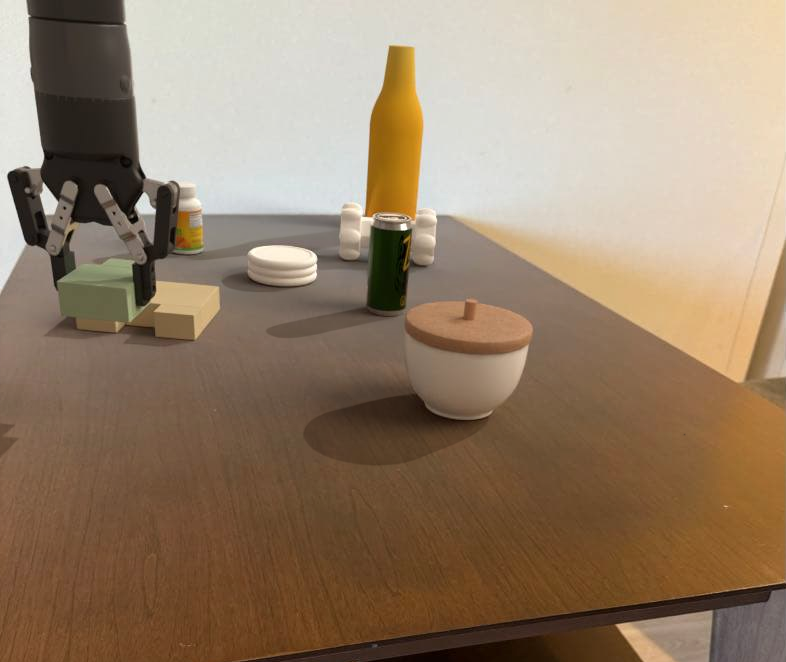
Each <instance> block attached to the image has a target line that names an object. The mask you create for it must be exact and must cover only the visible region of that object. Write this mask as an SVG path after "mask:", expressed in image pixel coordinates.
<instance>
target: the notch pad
mask: <svg viewBox="0 0 786 662" xmlns="http://www.w3.org/2000/svg"><path fill="white" fill-rule="evenodd" d="M220 310H221V302H220V286H216V285H206V284H197V283H194V284H193V283H186V282H185V283H184V282H174V281H165V280H163V281H161V280H156V294H155V296H154V297H153V298H152V299H151V303H150V304H149V305H148V306H147V307H146V308H145V309H144V310H142V311H141V312H140V313H139V314H138V315H137V316H136V317H135V318H134V319H133V320H132V321H131V322H130V323H126V322H116V321H106V320H96V319H87V318H77V317H75V323H76V329H77V330H79V331H80V330H81V331H92V332H102V333H103V332H104V333H114V334H117V333H118V332H119V331H120V330H121V329H122V328H123V327H124V326H133V327H144V328H153V329H154V335H155V337H156V338H164V339H165V338H167V339H177V340H185V341H187V340H188V341H196V340H197V338H198V337H199V336H200V335H201V334H202V332H203V331H204V330H205V329H206V328H207V326H208V325H209V324H210V322H211V321H212V320H213V319H214V317H215V316H216V315H217V314H218V313H219V311H220Z"/></svg>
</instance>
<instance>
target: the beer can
mask: <svg viewBox="0 0 786 662" xmlns="http://www.w3.org/2000/svg"><path fill="white" fill-rule="evenodd" d="M412 228H413V227H412V224H411V217H409V216H407V215H403V214H397V213H377V214H374V215H373V220H372V222H371V224H370V242H369V248H368V261H367V278H366V279H367V280H366V297H365V298H366V299H365V305H366V307H367V310H368V312H369V313H371V314H374V315H376V316H377V315H378V316H381V317H396V316H400V315H402V314H403V313H404V312H405V311H406V308H407V302H408V300H407V299H408V288H409V274H410V264H411V253H412V252H411V240H412Z"/></svg>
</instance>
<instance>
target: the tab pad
mask: <svg viewBox="0 0 786 662" xmlns="http://www.w3.org/2000/svg"><path fill="white" fill-rule="evenodd" d="M133 263H135V261H134V259H123V258H115V257H109V258H108V259H107V260H105V261H104V262H103V263H101V264H95V263H94V264H93V263H84V262H83V263H82V264H81V265H79V266H77V267H76V269H75V270H73V271H72V272H70V273H69V274H67V275H66V276H64V277H63V278H61V279H60V280H58V281H57V288H58V291H57V294H58V300H59V301H58V302H59V310H60V316H61V317H67V318H76V317H77V318H87V319H96V320H106V321H116V322H126V323H130V322H131V321H132V320H133V319H134V318H135V317H136V316H137V315H138V314H139V313H140V312H141V311H142V310H144V309H145V308H146V307H147V306H148V305H149V304H150V303H151V300H150V302H149V303H148V304H147V305H146V306H145V307H143V306H137V305H136V301H135V290H134V282H133V273H132V264H133Z"/></svg>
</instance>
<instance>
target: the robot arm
mask: <svg viewBox="0 0 786 662" xmlns="http://www.w3.org/2000/svg"><path fill="white" fill-rule="evenodd" d="M25 2H26V10H27V15H28V17H27V19H28V52H29V61H30V69H29V70H30V71H29V72H30V73H29V74H30V80H31V82H32V83H33V92H34V93H33V94H34V101H35V107H36V114H37V116H36V117H37V123H38V131H39V138H40V146H41V149H42V152H43V160H42V161H43V162H42V163H41V166H40V167H34V168H31V167H30V166H27V165H24V166H20V167H17V168H14V169H13V170H10V171H8V173H7V174H6V179H7V182H8V187H9V189H10V194H11V197H12V201H13V204H14V207H15V211H16V214H17V218H18V223H19V225H20V229H21V233H22V236H23V240H24V242H25V243H26V244H27V245H28V246H29V247H35V246H36V247H39V248H40V249H43V250H44V251H46V253H47V254H48V255H49V259H50V265H51V266H50V267H51V272H52V280H53V281H52V282H53V286H54V288H55V290H56V292H58V288H57V281H58V280H60V279H61V278H63V277H64V276H66V275H67V274H69V273H70V272H72V271H73V270H75V269H76V268H77V266H76V265H77V263H76V257H75V251H72V250H71V248H70V247H71V245H72V243H73V240H74V238H75V234H76V231H77V229H78V228H79V226H80V224H90V223H96V224H98V225H102V226H106V227H113V230H115V232H116V235H117V236H118V238H119V239H120V240H121V241H123V242H124V245H125V246H126V248H127V250H128V252H129V254H130V256H131V258H132V260H134V261H135V263H133V264H132V273H133V282H134V290H135V301H136V305H137V306H143V307H145V306H146V305H147V304H148V303H149V302H150V300H151V299H152V298H153V297H154V296H155V294H156V281H157V280H156V265H155V264H156V263H155V262H156V261H157V260H164V259H166V258H167V257H168V256H170V254H171V253H173V251H174V249H175V246H176V234H177V221H178V209H179V197H180V186H179V184H178V183H177V182H178V181H175V180H169V181H167V182H163V181H160V180H156V179H151V178H148V177H147V176H146V173H145V172H144V170H143V168H142V165H141V162H140V141H139V129H138V116H137V104H136V103H137V102H136V87H135V75H134V63H133V61H134V60H133V53H132V48H131V44H130V40H129V34H128V33H129V32H128V26H127V24H126V23H127V14H126V13H127V12H126V2H125V0H25ZM44 185H45V187H46V188H47V189H48V190H49V192H50V194H51V195H52V196H53V198H55V200H56V201H57V205H56V207H55V208H56V209H55V211H54V214H53V217H52V219H51V222H50V227H51V229H50V228H49V224H48V220H47V217H46V213H45V209H44V206H43V202H42V198H41V194H42V193H43V191H44V187H43V186H44ZM144 193H145V194H146V195H147V197H148V201H149V205H150V207H152V209H154V210H155V214H154V215H155V216H154V229H153V230H154V231H153V242H152V239H151V238H150V236H149V234H148V232H147V230H146V223H145V221H144V219H143V217H142V215H141V213H140V211H139V210H138V207H137V203H138V202H139V200H140V199H141V198H142V195H143V194H144Z"/></svg>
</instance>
